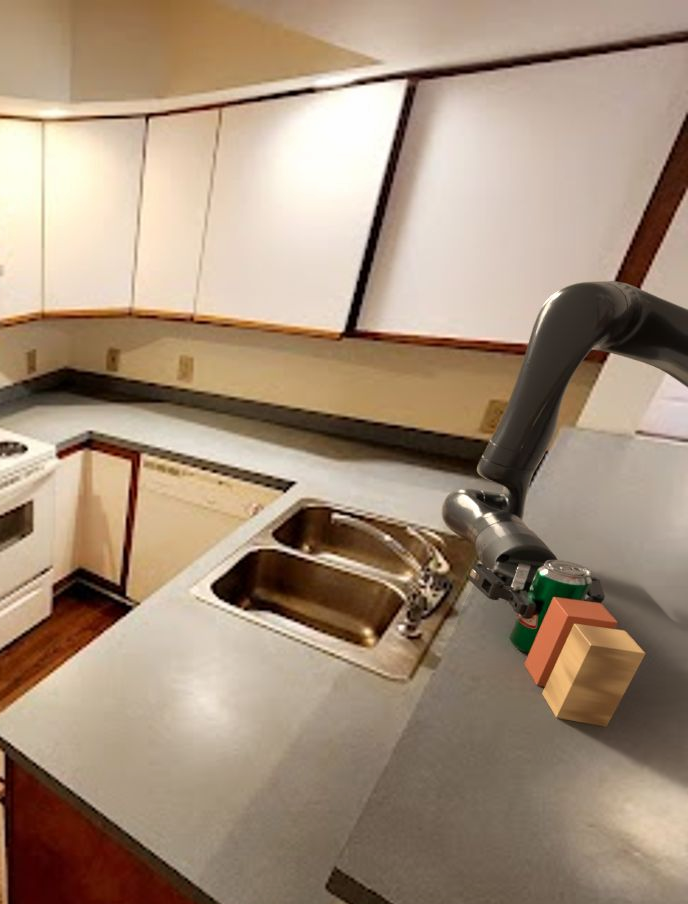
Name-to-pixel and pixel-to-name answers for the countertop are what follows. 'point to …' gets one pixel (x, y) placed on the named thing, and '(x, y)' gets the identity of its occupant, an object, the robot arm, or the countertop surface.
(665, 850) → the countertop surface
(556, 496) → the countertop surface
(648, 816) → the countertop surface
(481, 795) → the countertop surface
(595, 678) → the maple block
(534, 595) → the soda can
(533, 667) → the terracotta block
